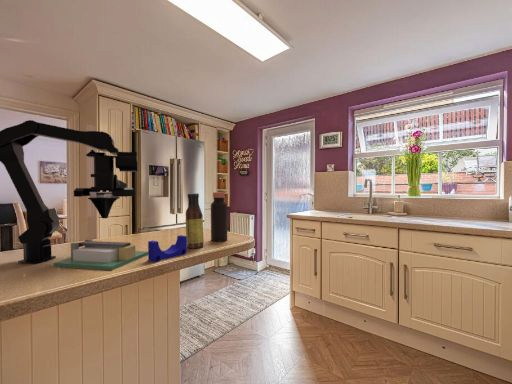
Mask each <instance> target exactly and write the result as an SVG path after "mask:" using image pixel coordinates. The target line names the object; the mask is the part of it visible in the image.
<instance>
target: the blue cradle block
mask: <svg viewBox="0 0 512 384" xmlns="http://www.w3.org/2000/svg"><path fill="white" fill-rule="evenodd" d="M159 244H160V243H159V241H156V240H148V241H147V247H148V248H147V249H148V250H147V252H148V255H147V256H148V261H149V262H152V263H156V262H160V261H164V260H167V259H171V258H175V257H179V256H184V255H187V253H188V247H187V236H186V235H182V234H181V235H177V237H176V242H175V243H173V244H171V245H170V246H169V247H168V248H167V249H166V250H162V249H161V248H160V245H159Z"/></svg>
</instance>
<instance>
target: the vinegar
mask: <svg viewBox="0 0 512 384" xmlns="http://www.w3.org/2000/svg"><path fill="white" fill-rule="evenodd" d="M225 195H226V192H224V191H222V192H221V191H219V192H218V191H216V192H215V191H213V192H212V199H213V201H212V203H211V204H210V240H211V241H212V242H219V241H220V242H225V241H227V240H228V204H227V203H226V201H225V197H226V196H225Z"/></svg>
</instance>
